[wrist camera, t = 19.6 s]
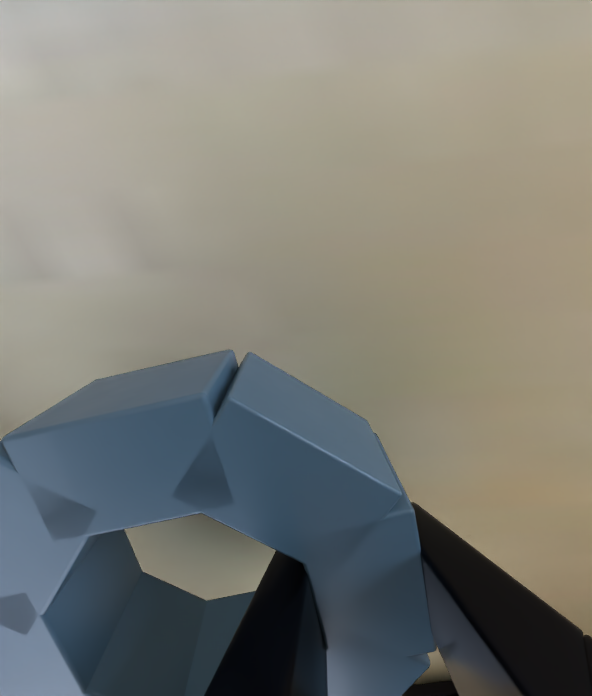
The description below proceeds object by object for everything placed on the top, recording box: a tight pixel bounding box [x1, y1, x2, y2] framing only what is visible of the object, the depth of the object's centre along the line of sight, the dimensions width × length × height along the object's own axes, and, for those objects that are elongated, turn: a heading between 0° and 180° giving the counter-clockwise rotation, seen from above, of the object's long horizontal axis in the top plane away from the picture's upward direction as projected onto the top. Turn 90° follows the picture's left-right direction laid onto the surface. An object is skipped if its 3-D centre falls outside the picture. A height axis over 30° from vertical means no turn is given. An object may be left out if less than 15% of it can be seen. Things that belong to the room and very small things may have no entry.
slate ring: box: [0, 350, 437, 696], centre depth 7 cm, size 9×9×3 cm
